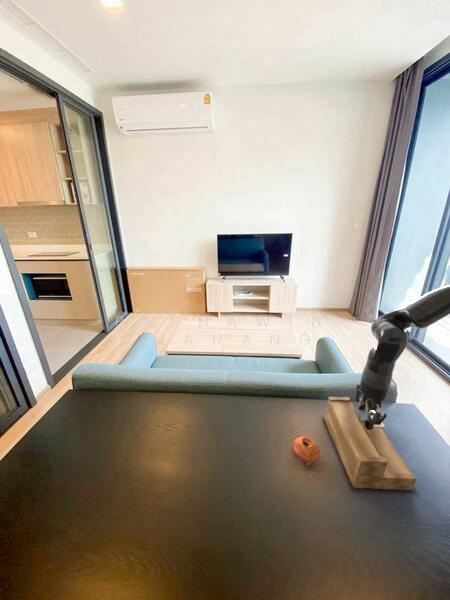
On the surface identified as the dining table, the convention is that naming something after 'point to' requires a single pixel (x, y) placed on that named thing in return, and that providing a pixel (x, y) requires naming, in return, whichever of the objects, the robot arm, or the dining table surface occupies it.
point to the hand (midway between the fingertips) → (364, 422)
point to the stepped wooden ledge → (365, 450)
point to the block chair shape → (363, 417)
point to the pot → (306, 449)
